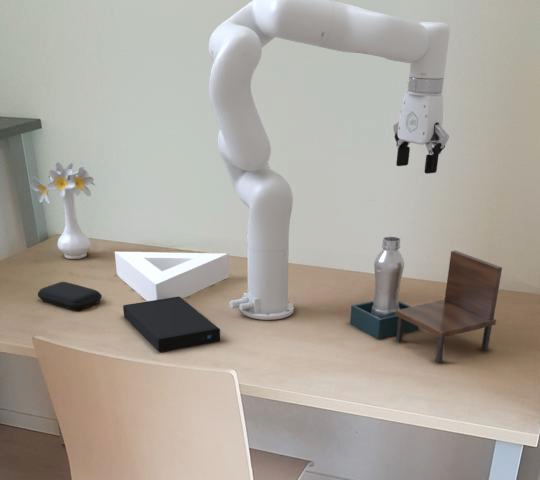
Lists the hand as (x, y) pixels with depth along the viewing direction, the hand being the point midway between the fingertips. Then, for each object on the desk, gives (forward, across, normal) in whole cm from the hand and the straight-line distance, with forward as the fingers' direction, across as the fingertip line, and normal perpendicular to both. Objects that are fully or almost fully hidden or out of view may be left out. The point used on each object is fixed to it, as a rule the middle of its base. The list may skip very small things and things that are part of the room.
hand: (415, 169), depth 182 cm
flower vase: (+32, -74, -58) cm, 99 cm away
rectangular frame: (+31, +14, -17) cm, 38 cm away
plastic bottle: (+31, +14, -17) cm, 38 cm away
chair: (+31, +29, -13) cm, 44 cm away
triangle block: (+31, -41, -49) cm, 71 cm away
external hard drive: (+32, -10, -59) cm, 68 cm away
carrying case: (+32, -40, -72) cm, 88 cm away
